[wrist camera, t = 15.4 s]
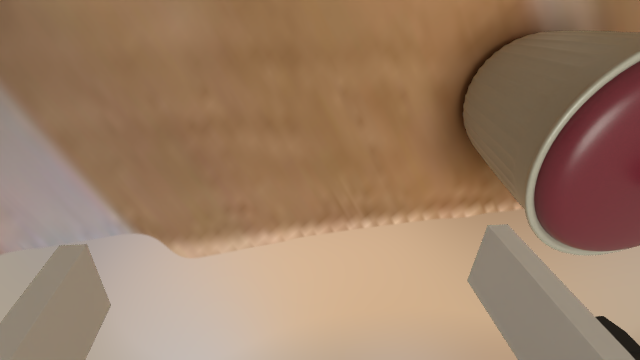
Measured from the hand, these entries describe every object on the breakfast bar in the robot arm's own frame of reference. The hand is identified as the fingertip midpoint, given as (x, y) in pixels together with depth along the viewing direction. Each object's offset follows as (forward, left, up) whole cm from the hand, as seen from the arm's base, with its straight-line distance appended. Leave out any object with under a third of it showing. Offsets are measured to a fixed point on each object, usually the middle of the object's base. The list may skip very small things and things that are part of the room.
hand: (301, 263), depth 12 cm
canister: (+26, -2, -27) cm, 37 cm away
